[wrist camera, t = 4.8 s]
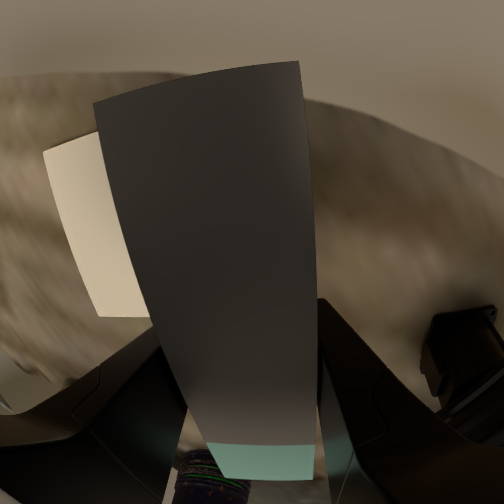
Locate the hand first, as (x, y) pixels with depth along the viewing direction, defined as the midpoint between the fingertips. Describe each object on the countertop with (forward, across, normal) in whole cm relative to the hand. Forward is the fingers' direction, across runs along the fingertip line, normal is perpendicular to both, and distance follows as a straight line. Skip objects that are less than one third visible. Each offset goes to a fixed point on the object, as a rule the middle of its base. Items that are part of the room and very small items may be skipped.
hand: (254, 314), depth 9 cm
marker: (+1, 0, 0) cm, 1 cm away
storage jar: (+11, +11, +36) cm, 39 cm away
